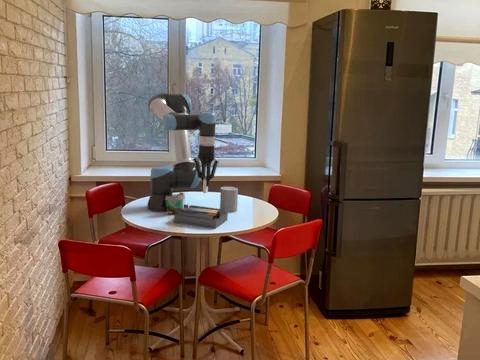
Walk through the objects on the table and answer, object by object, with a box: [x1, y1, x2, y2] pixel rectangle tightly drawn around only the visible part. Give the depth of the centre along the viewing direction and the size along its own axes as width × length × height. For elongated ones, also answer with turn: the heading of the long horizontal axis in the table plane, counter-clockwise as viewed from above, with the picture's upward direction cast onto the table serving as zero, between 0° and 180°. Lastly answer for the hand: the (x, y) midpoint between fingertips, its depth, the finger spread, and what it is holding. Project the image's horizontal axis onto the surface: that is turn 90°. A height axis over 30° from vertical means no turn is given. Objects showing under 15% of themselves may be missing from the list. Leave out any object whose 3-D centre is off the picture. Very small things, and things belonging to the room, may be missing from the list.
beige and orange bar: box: [182, 206, 219, 216], centre depth 236 cm, size 18×5×2 cm, turn 71°
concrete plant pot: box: [219, 186, 239, 214], centre depth 258 cm, size 10×10×12 cm
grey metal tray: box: [173, 204, 229, 230], centre depth 236 cm, size 22×16×7 cm
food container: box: [165, 191, 186, 216], centre depth 248 cm, size 12×6×10 cm, turn 148°
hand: (205, 192), depth 233 cm, fingers closed
